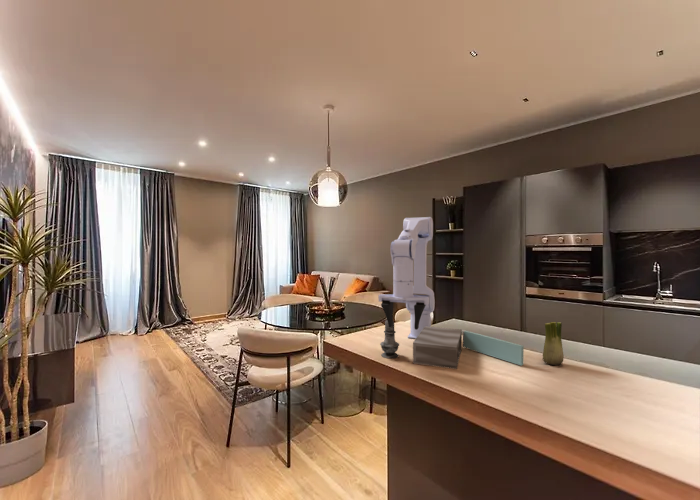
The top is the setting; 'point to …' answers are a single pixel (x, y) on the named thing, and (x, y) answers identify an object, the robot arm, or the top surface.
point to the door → (494, 347)
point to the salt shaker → (389, 342)
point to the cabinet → (438, 347)
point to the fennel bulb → (553, 344)
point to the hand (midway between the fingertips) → (403, 327)
